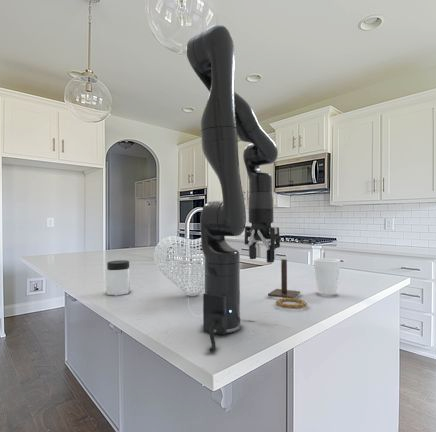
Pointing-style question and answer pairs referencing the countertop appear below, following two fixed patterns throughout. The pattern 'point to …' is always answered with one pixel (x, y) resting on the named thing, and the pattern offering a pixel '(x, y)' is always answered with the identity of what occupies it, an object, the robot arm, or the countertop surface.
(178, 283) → the heart
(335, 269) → the foam cup
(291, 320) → the countertop surface
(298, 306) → the ring
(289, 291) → the post
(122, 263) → the jar
